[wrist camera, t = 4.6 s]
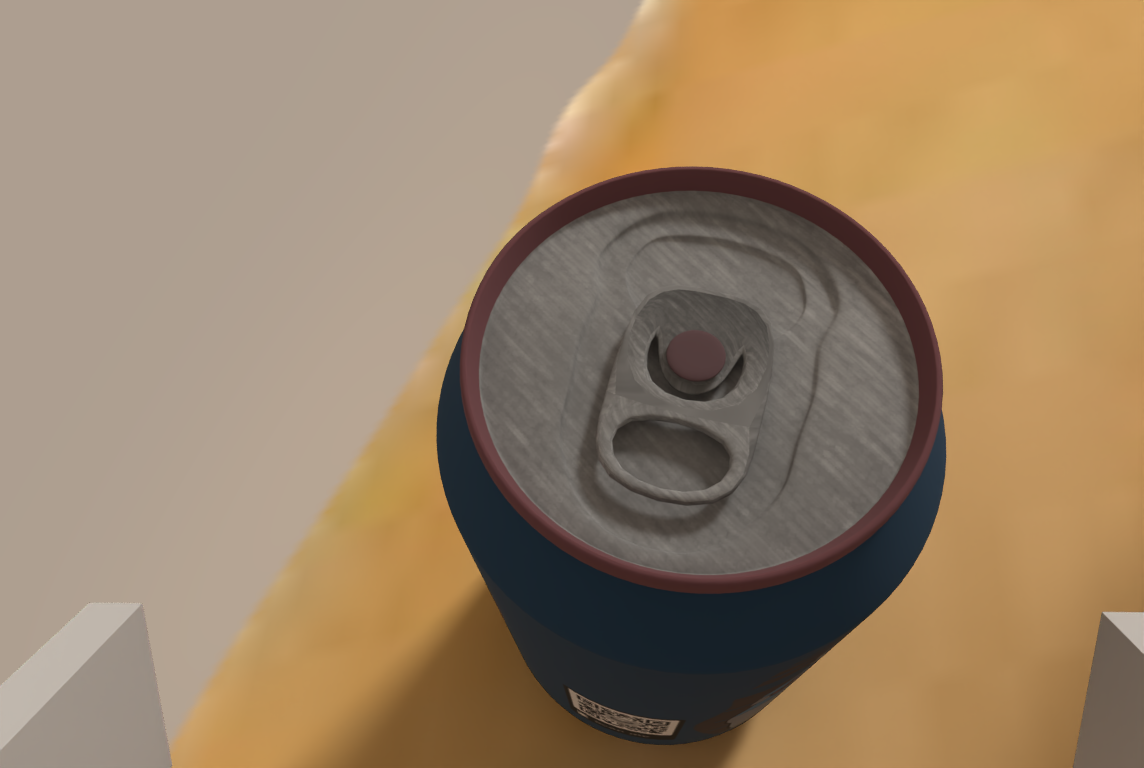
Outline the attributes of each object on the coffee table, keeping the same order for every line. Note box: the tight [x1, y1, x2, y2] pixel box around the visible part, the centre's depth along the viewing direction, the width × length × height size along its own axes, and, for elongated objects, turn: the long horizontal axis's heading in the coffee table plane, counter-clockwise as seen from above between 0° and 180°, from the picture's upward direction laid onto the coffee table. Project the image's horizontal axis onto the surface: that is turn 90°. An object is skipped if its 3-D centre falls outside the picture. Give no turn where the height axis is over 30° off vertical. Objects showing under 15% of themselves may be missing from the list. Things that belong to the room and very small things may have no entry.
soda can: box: [437, 167, 946, 745], centre depth 16 cm, size 7×7×12 cm
